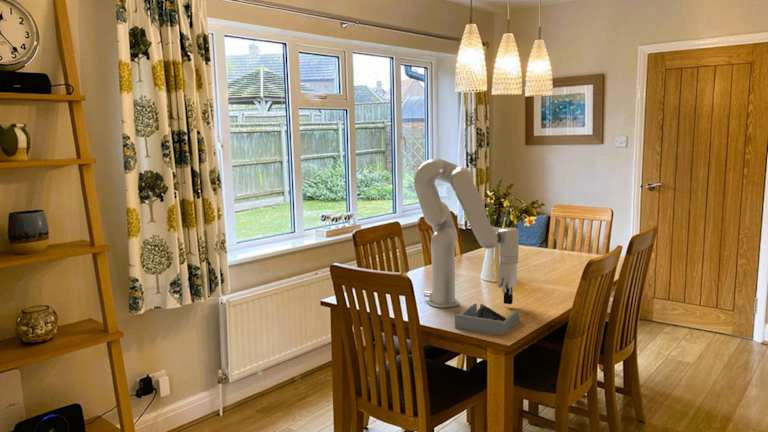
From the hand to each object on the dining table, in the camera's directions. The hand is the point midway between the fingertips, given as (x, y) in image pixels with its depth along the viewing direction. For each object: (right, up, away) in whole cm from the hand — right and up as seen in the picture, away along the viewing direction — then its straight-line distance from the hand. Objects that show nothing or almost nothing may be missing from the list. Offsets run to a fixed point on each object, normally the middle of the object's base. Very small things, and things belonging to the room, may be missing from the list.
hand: (508, 303), depth 232 cm
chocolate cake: (-9, -5, -17) cm, 20 cm away
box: (-11, -5, -19) cm, 22 cm away
